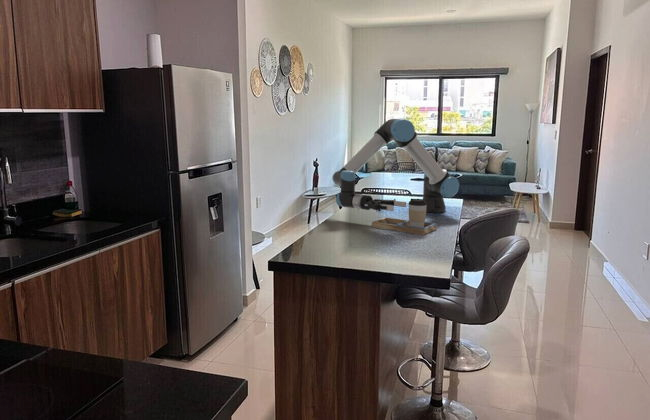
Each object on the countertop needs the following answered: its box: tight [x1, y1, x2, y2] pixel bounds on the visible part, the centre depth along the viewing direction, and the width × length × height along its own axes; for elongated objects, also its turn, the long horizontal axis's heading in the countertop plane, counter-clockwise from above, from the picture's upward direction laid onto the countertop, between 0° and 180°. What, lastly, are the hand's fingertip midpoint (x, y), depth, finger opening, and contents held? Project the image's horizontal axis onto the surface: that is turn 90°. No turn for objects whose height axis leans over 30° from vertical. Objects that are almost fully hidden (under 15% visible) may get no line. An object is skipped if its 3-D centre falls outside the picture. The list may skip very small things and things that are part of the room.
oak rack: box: [371, 216, 438, 236], centre depth 241 cm, size 15×28×3 cm, turn 54°
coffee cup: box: [407, 198, 427, 228], centre depth 235 cm, size 9×9×15 cm
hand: (399, 206), depth 240 cm, fingers open, 13 cm apart
